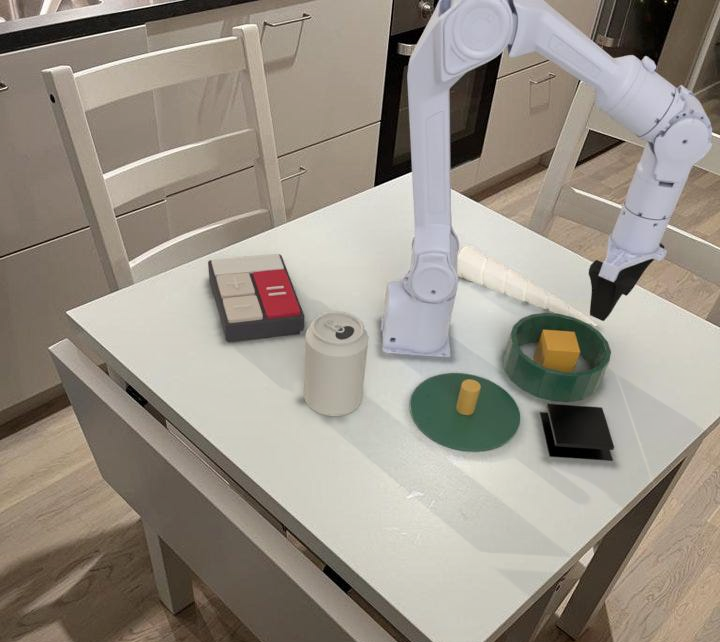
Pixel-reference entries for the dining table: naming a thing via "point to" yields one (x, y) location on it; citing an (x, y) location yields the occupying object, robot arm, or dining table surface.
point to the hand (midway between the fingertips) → (609, 304)
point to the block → (557, 350)
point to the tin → (548, 380)
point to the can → (335, 363)
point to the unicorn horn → (510, 283)
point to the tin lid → (464, 412)
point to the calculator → (255, 297)
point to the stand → (577, 432)
